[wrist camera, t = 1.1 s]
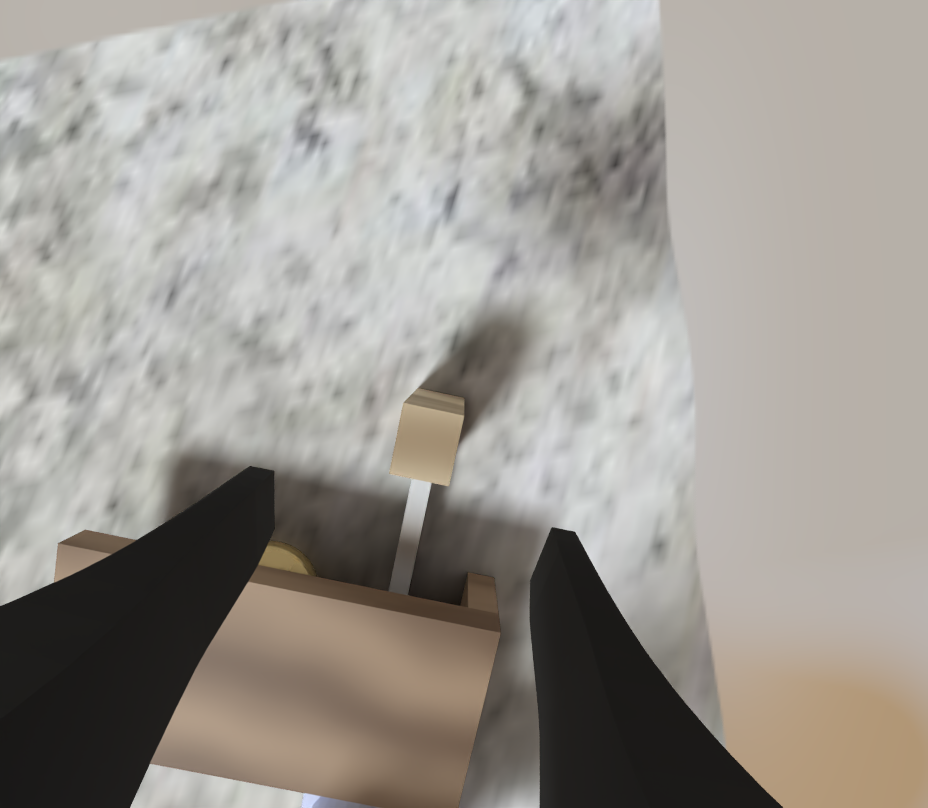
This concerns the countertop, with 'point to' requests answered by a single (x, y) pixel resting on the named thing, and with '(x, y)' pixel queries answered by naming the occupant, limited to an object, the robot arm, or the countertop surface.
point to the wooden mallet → (422, 466)
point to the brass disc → (286, 559)
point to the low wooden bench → (332, 687)
